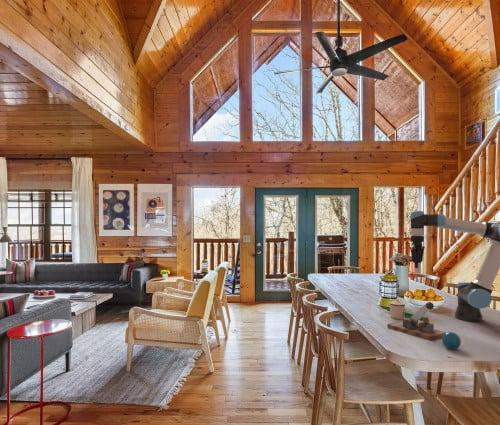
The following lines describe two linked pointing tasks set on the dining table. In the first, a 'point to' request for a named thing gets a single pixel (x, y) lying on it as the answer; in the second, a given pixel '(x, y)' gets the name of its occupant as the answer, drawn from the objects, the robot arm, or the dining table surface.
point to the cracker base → (417, 328)
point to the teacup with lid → (397, 309)
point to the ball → (451, 340)
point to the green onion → (405, 313)
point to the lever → (421, 312)
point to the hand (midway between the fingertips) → (417, 273)
